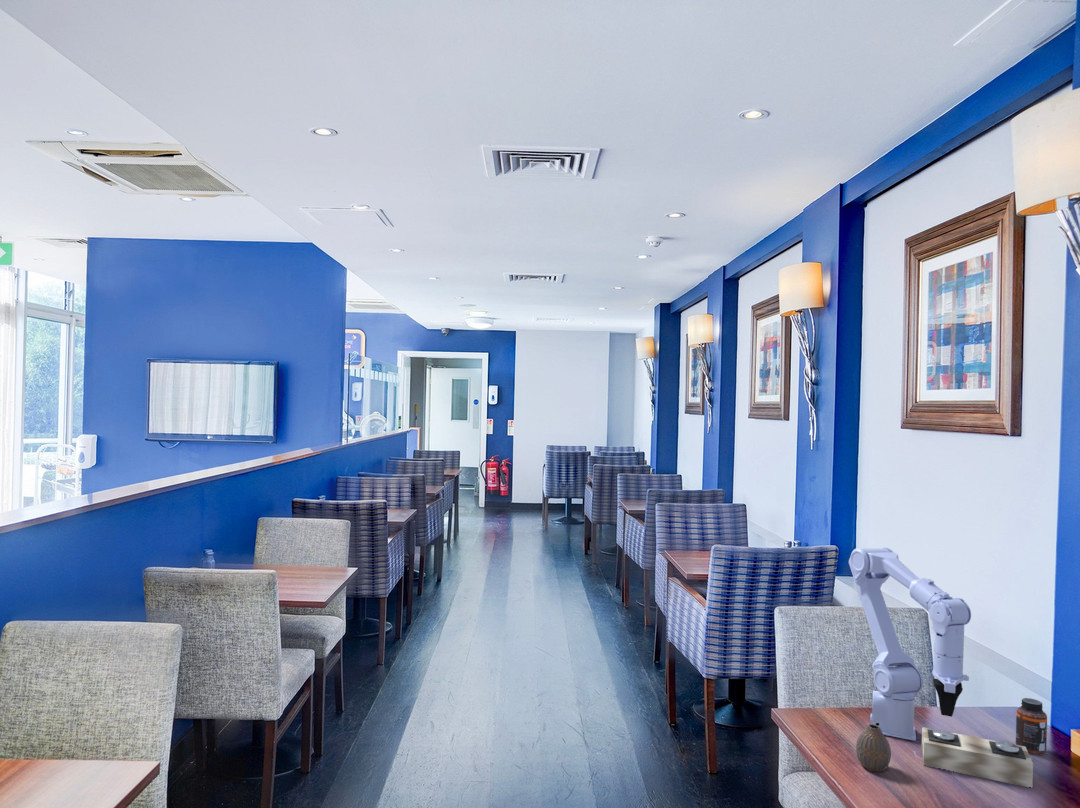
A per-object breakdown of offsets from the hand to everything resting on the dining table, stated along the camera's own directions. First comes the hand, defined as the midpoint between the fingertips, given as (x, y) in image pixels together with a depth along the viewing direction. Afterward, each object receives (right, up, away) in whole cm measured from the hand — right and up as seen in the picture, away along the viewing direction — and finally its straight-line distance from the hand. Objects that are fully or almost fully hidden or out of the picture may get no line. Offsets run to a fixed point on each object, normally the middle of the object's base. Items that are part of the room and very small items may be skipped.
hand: (946, 714), depth 164 cm
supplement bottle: (+23, -11, +7) cm, 26 cm away
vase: (-19, -9, -5) cm, 22 cm away
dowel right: (+10, -9, -6) cm, 14 cm away
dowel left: (-1, -9, -1) cm, 9 cm away
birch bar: (+4, -10, -3) cm, 11 cm away
